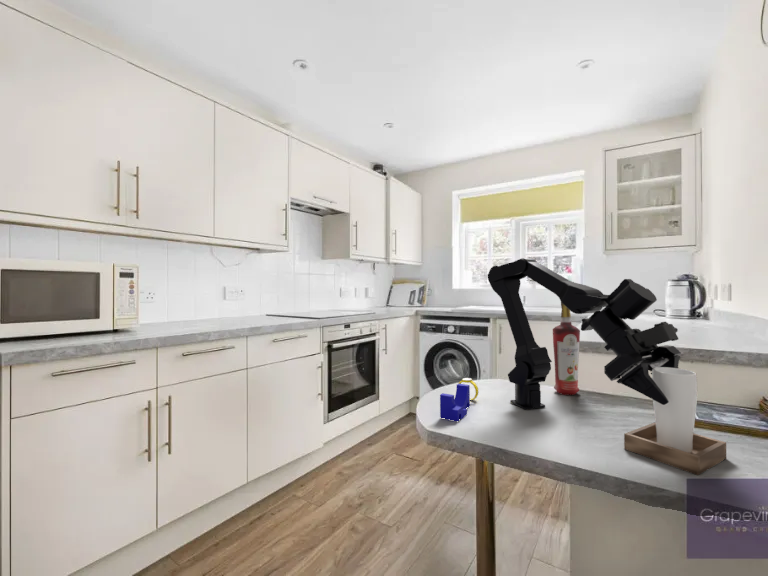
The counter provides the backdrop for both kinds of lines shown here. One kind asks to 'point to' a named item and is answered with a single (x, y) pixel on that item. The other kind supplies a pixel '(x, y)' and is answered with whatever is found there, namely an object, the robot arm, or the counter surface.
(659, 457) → the walnut box
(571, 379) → the liquor
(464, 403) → the blue u-shaped holder
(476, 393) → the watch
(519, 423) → the counter surface
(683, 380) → the drinking glass
